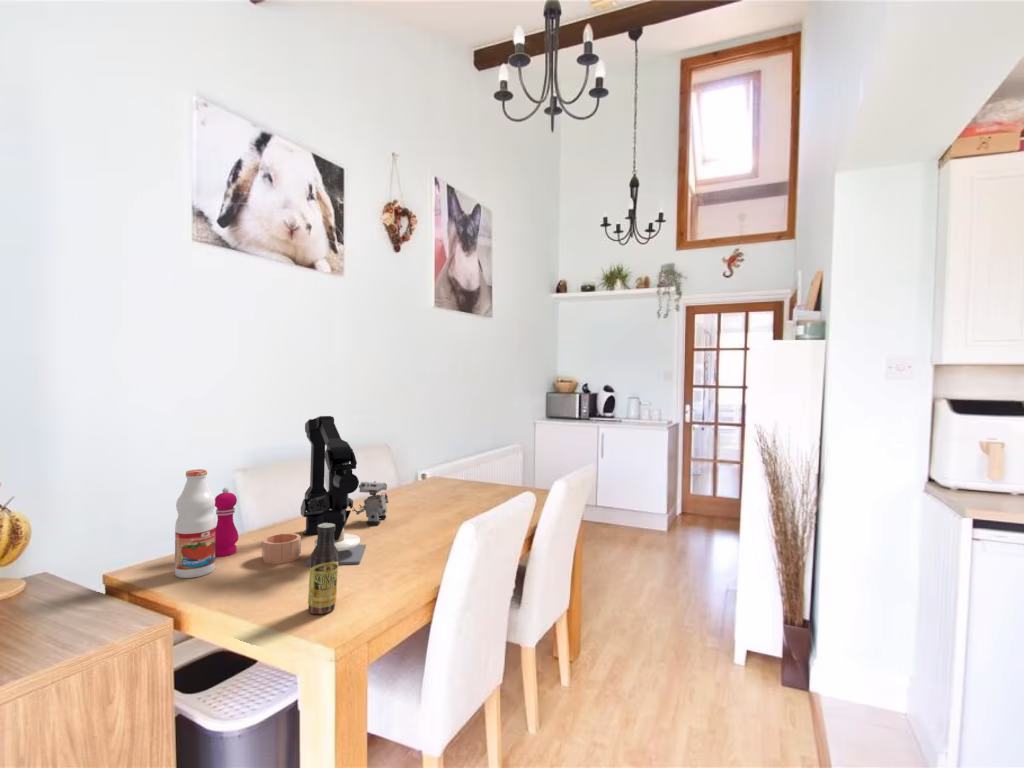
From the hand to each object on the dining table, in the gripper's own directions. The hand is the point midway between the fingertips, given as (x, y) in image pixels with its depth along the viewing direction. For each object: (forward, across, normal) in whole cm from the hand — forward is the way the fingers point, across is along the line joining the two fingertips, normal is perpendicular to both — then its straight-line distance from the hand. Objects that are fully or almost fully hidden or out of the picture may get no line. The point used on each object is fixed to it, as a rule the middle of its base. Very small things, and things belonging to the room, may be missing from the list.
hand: (337, 538), depth 154 cm
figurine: (+6, -36, +6) cm, 37 cm away
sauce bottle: (+6, +36, +3) cm, 36 cm away
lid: (+2, 0, 0) cm, 2 cm away
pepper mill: (+6, -6, -34) cm, 35 cm away
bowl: (+6, 0, -16) cm, 17 cm away
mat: (+6, 0, 0) cm, 6 cm away
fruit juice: (+6, +9, -36) cm, 38 cm away
